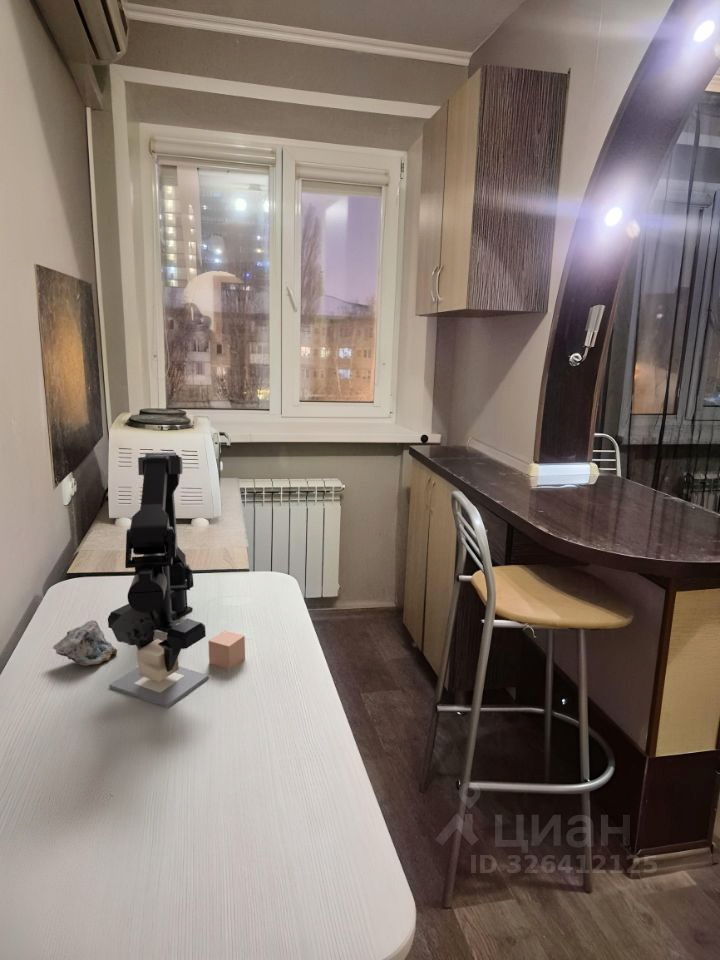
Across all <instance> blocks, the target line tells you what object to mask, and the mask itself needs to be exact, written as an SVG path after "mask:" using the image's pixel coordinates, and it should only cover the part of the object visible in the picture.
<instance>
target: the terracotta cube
mask: <svg viewBox="0 0 720 960" xmlns="http://www.w3.org/2000/svg"><path fill="white" fill-rule="evenodd" d="M245 638H246V637H245V635H243V634H239V633H235V632H231V631H229V630H228V631H227V630H223V631H221V632H220V633H218V634H216V635H215V636H213V637H212V638H210V639H209V640H208V641H207V642H208V659H209V660H208V662H209V664H210V665H212V666H217V667H220V668H223V669H227V670H231V669H233V668H234V667H236V666H237V665H238V664H239V663H240V662H242V661H243V660H244V659H246V648H245V645H246V644H245V643H246V641H245V640H246V639H245Z"/></svg>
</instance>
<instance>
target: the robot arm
mask: <svg viewBox="0 0 720 960" xmlns="http://www.w3.org/2000/svg"><path fill="white" fill-rule="evenodd" d="M137 463H138V465H137V466H138V467H137V469H138V476H143V479H142V481H143V482H142V489H141V490H142V491H141V499H140V508H139V510H137V512H135V513H134V515H132V518H131V520H130V528H127V530H126V534H125V535H126V537H125V563H124V564H125V569H134V577H133V578H132V581H131V583H130V586H129V589H128V592H127V601H128V603H127V604H125V605H123V606H120V607H119V608H116V609H114V610H113V611H110V613H109V615H108V617H107V627H108V628H110V629H111V630H112V632H113V635H114V636H115V639H116V642H119V643H124V644H127V645H129V646H136V648H137V650H139V649H141V648H142V647H144V646H146V645H148V644H149V643H151V642H153V641H154V639H155V632H158V633H165V634H166V635H165V639H164V640H162V642H160V643H159V644H158V645H159V646H161V647H162V648H164V655H165V665H166V669H167V672H170V671H171V670H172V669H173V667H174V665H175V662H176V660H177V658H178V659H179V655H180V653H181V651H182V650H186V649H188V648H190V647H191V646H193V645H194V644H197V642H199V641H201V640H202V639H204V638H205V637H207V636H206V635H207V634H206V626H205V625H206V624H204V623H203V622H200V621H196V620H193V619H189V618H186V619H184V620H182V621H181V622H179V623H178V622H177V623H175V622H172V621H173V620H174V621H175V620H177V619H179V618H181V617H182V616H183V617H184V615H186V614H188V613H190V612H191V611H193V609H194V608H193V606H189V605H188V595H187V594H188V592H187V591H190V590H191V588H194V585H195V584H194V573H193V570H192V569H191V567H190V564H187V558H186V554H185V553H184V552H183V551H182V549H181V548H180V547H179V546H178V536H177V535H178V534H177V533H178V532H177V517H176V509H175V508H176V505H175V504H176V503H175V492H176V489H177V488H178V486H179V484H180V479H181V478H180V477H181V475H182V474H183V458H182V457H181V456H179V454H177V453H176V452H145V456H143V457H142V456H141V457H137ZM132 552H133V554H134V555H135V556H132Z"/></svg>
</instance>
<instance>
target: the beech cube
mask: <svg viewBox="0 0 720 960" xmlns="http://www.w3.org/2000/svg"><path fill="white" fill-rule="evenodd" d="M162 641H163V640H162V639H158V638H157V639H155V640H154V641H153V642H151V643H149V644H148V645H146V646H144V647H142V648H141V649H139V650H138V649H137V650H136V652H137V653H136V654H137V667H138V669H139V675H140V676H143V677H146V678H149V679H152V680H155V681H158V682H160V681H162V680H163V679H165V678H166V677H168V676H169V675H171V674H172V673H174V672H175V671H177V670H178V669H179V666H180V665H179V657H178V658H177V660H176V662H175V665H174V667H173V669H172V670H171V671H170V672H167V669H166V665H165V655H164V648H162V647H161V646H159V645H158V644H159V643H160V642H162Z"/></svg>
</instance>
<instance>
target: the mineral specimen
mask: <svg viewBox="0 0 720 960" xmlns="http://www.w3.org/2000/svg"><path fill="white" fill-rule="evenodd" d="M52 649H54V650H55V653H56V654H57V655H59V656H62V657H66V658H67V659H68V660H72V662H74V663H76V664H78V665H80V666H83V667H87V666H91V665H99V664H101V663H102V662H106V661H109V660H110V658H111V656H112V655H117V653H118V649H117V648H116V647H115V646H113V645H112V643H111V642H110V641H109V642H108V641H107V640H106V638H105V634H104V632H103V631H102V630H101V628H100V626H99V623H98V622H97V621H96V619H95V620H94V619H91V620H89V621H87V622H86V623H84V624H82V625H81V626H78V627H76V628H73V629H71V630H68V631H67V632H66V635H65V636H64V637H63V638H62V639H60V640H59V641H58V642H56V644H54V645H53V647H52Z"/></svg>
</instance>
